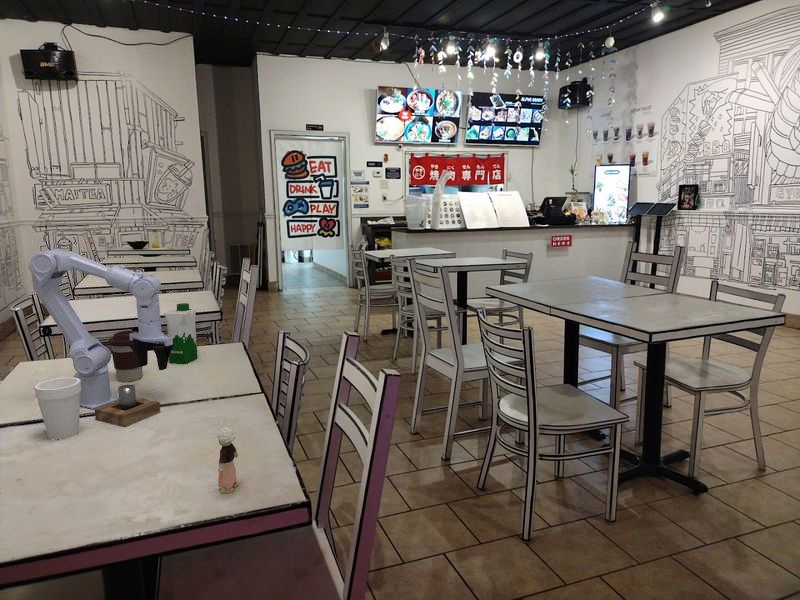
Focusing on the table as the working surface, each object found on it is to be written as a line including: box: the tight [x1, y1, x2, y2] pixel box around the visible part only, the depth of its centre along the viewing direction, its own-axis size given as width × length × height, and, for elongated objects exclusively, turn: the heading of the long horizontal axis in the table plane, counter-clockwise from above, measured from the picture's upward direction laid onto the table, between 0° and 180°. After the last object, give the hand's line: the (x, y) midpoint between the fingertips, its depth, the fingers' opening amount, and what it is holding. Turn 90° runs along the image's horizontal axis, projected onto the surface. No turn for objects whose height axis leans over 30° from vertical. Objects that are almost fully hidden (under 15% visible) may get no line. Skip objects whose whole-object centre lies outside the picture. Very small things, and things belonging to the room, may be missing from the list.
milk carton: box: [163, 302, 199, 365], centre depth 198 cm, size 9×9×20 cm
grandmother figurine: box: [216, 427, 239, 494], centre depth 111 cm, size 8×4×13 cm, turn 5°
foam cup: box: [34, 376, 81, 441], centre depth 137 cm, size 10×9×13 cm
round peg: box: [117, 384, 137, 411], centre depth 149 cm, size 4×4×8 cm
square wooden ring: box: [94, 396, 161, 428], centre depth 150 cm, size 11×11×3 cm
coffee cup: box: [108, 330, 143, 383], centre depth 179 cm, size 10×10×15 cm
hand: (153, 367), depth 159 cm, fingers open, 7 cm apart
